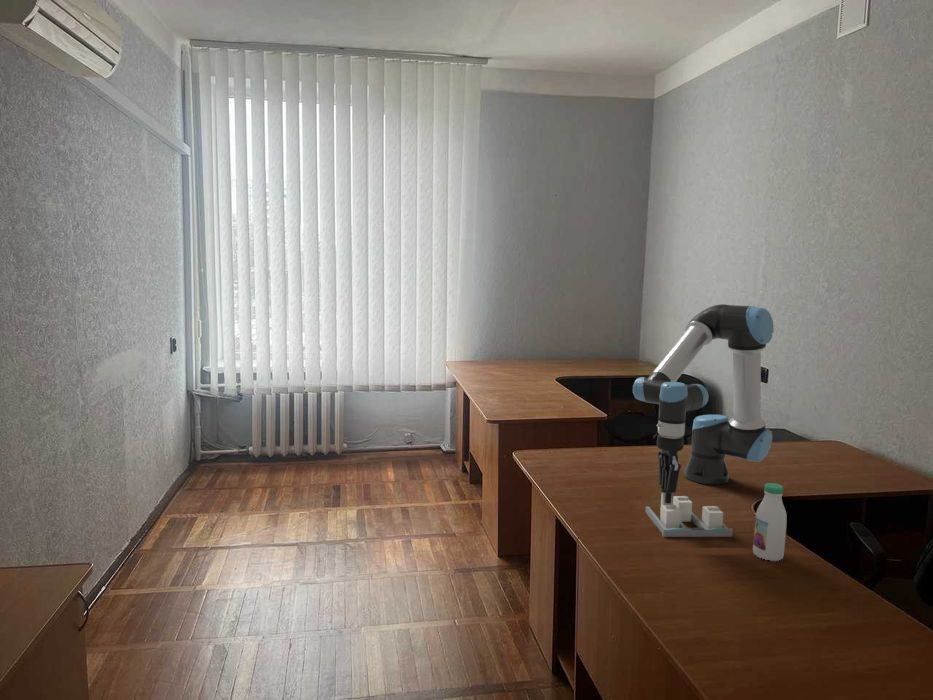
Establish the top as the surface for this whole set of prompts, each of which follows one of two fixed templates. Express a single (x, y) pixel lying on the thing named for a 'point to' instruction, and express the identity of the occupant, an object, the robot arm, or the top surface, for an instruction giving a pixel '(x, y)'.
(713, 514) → the white rectangular block
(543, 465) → the top surface
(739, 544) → the top surface
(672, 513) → the white block with handle
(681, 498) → the white ridged block
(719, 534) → the switch board
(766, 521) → the milk bottle
